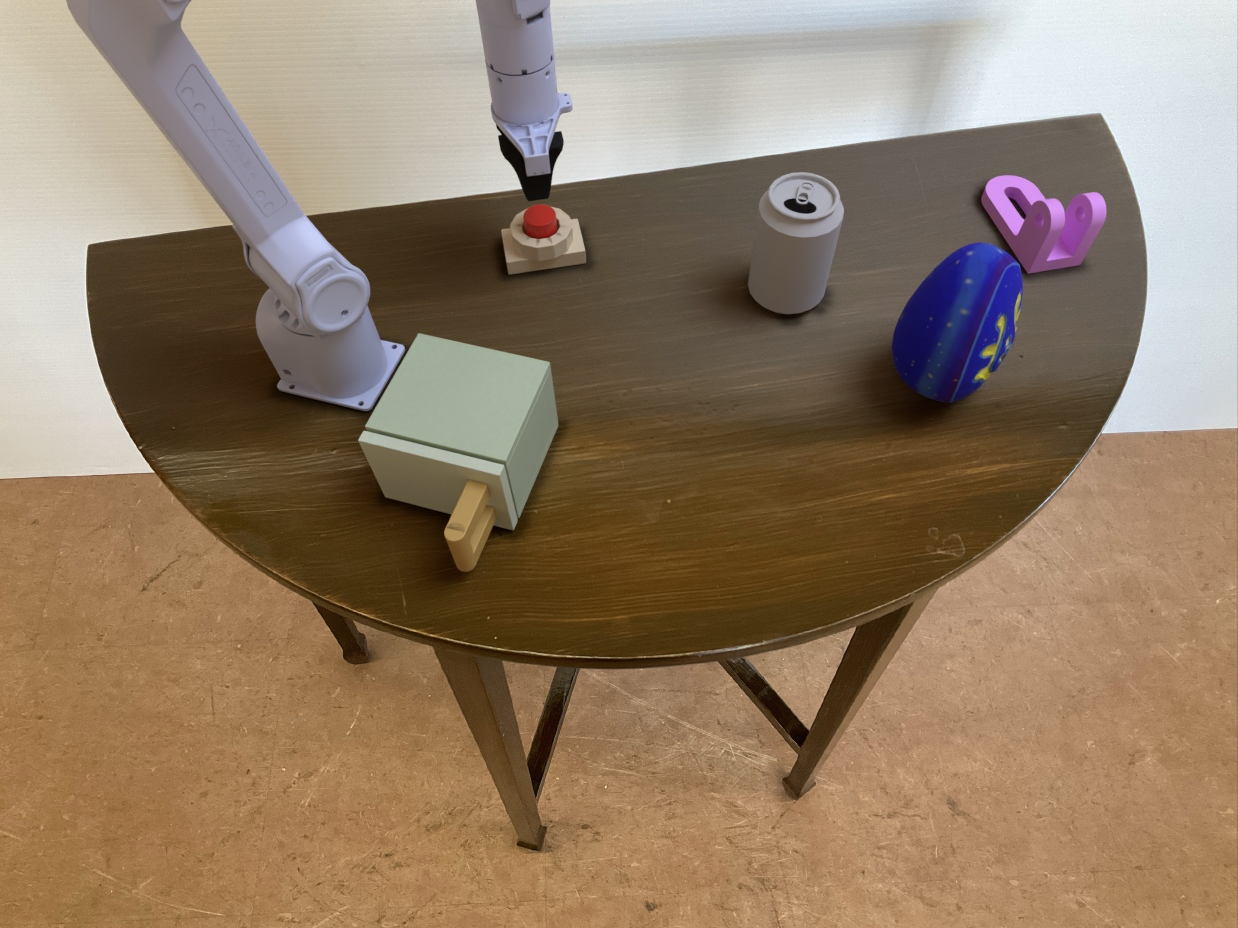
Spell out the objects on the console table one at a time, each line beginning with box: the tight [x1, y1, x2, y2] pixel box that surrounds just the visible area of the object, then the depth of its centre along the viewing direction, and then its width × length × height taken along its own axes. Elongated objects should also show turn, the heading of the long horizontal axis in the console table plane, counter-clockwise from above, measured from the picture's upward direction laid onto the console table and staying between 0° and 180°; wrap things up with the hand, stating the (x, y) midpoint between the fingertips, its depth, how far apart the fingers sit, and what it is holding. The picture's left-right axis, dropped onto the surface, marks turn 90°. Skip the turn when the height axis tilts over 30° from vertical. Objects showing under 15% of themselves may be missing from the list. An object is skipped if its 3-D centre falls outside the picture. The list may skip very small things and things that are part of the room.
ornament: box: [891, 242, 1024, 404], centre depth 72 cm, size 11×9×15 cm
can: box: [747, 171, 845, 315], centre depth 79 cm, size 8×8×12 cm
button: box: [523, 204, 557, 239], centre depth 85 cm, size 3×3×2 cm
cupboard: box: [364, 332, 559, 519], centre depth 71 cm, size 10×12×9 cm
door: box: [357, 430, 519, 573], centre depth 66 cm, size 6×12×8 cm, turn 73°
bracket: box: [980, 174, 1108, 274], centre depth 86 cm, size 13×6×7 cm, turn 11°
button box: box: [500, 206, 587, 276], centre depth 87 cm, size 8×6×4 cm
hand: (536, 191), depth 82 cm, fingers closed
